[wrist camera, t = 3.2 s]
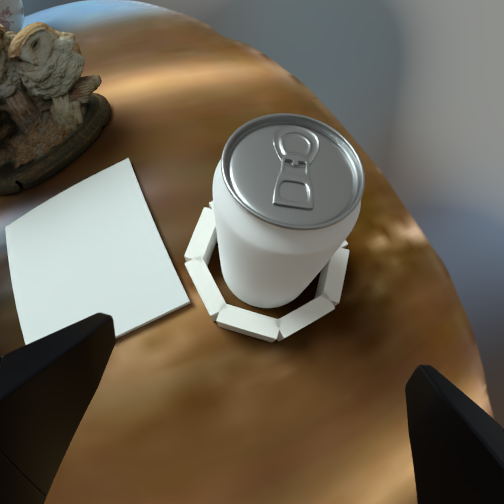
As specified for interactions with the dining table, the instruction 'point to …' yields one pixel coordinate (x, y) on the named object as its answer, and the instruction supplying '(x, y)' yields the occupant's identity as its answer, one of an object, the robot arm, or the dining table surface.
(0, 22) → the chamber pot
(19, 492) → the robot arm
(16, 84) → the owl figurine
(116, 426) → the dining table surface
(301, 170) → the can
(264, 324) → the ring
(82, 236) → the mat
